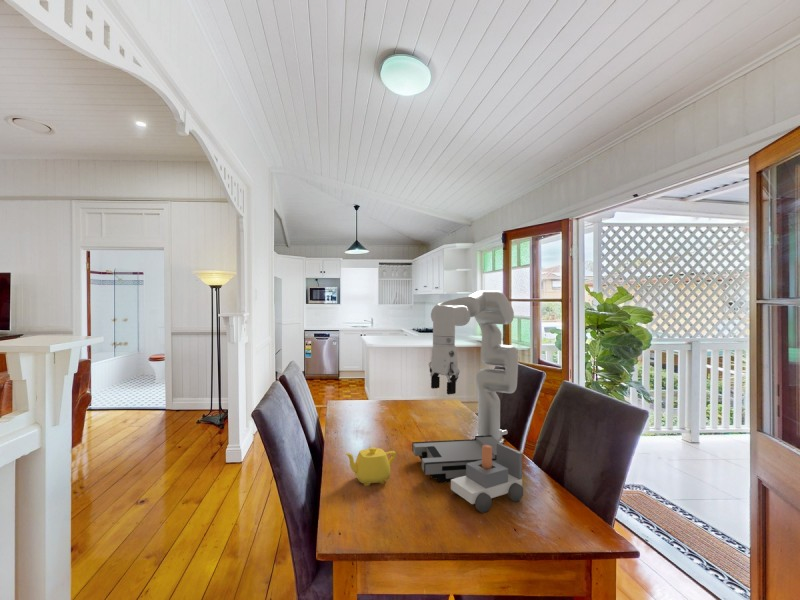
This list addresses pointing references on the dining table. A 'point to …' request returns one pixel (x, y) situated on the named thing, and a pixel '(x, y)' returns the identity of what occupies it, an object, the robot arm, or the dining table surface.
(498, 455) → the ramp trolley
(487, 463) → the pin
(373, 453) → the teapot
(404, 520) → the dining table surface
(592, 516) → the dining table surface
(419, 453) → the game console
